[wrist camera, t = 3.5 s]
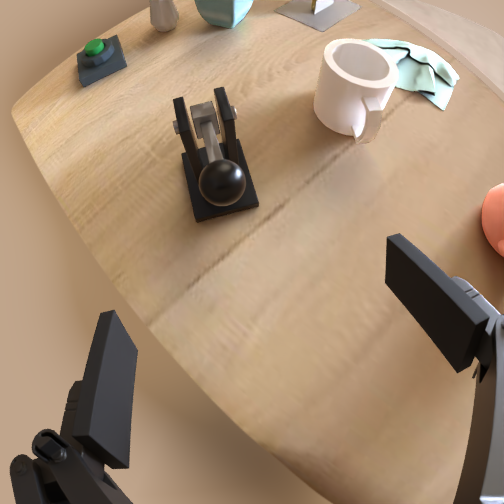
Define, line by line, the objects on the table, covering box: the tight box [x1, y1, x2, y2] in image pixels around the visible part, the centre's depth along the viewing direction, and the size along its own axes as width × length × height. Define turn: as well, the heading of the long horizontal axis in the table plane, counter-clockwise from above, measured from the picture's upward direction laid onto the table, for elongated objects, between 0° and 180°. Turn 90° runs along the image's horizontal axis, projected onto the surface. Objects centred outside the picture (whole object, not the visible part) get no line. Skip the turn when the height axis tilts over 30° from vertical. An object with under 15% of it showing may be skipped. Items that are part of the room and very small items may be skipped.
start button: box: [84, 39, 104, 57], centre depth 45 cm, size 4×4×2 cm
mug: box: [313, 38, 399, 144], centre depth 39 cm, size 14×10×11 cm
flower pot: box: [195, 0, 253, 28], centre depth 47 cm, size 9×9×9 cm
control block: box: [77, 35, 127, 87], centre depth 47 cm, size 10×9×4 cm
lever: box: [190, 101, 246, 206], centre depth 26 cm, size 13×3×3 cm, turn 15°
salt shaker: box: [150, 0, 179, 32], centre depth 45 cm, size 6×6×13 cm
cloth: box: [362, 39, 459, 111], centre depth 47 cm, size 20×22×2 cm
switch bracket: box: [173, 87, 259, 223], centre depth 34 cm, size 10×8×15 cm
